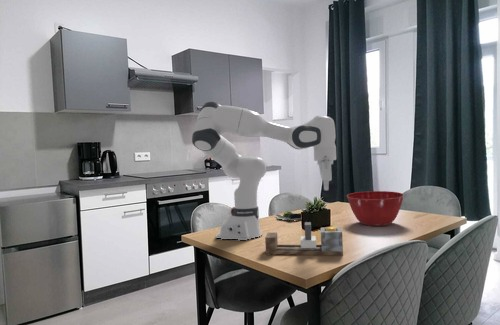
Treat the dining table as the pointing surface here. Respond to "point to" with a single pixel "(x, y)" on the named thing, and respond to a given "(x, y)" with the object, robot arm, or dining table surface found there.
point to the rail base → (329, 246)
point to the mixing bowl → (375, 206)
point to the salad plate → (289, 216)
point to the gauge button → (330, 229)
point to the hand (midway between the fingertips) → (326, 190)
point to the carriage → (308, 237)
